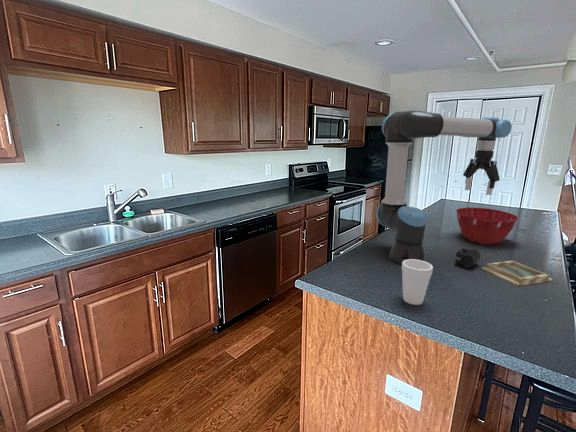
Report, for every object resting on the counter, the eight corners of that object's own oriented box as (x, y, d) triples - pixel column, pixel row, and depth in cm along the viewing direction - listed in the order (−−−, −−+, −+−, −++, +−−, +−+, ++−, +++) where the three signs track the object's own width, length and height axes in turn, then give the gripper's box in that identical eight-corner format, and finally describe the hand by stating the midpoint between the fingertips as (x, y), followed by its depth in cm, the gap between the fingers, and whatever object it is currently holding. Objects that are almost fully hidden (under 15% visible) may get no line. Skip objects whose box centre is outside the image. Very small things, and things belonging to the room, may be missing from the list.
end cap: (471, 271, 133) (474, 256, 131) (453, 266, 138) (456, 251, 136) (479, 265, 140) (481, 250, 138) (461, 260, 145) (464, 246, 143)
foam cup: (420, 293, 113) (425, 259, 110) (432, 307, 104) (438, 270, 101) (394, 293, 112) (398, 259, 109) (404, 307, 104) (408, 270, 100)
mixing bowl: (508, 254, 153) (515, 223, 150) (445, 240, 171) (450, 213, 168) (515, 240, 174) (521, 213, 170) (459, 229, 192) (463, 205, 188)
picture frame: (517, 286, 120) (518, 280, 119) (481, 269, 135) (482, 263, 134) (552, 280, 125) (553, 275, 124) (513, 265, 140) (515, 259, 139)
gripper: (514, 151, 146) (505, 196, 151) (471, 148, 169) (465, 188, 174) (500, 151, 144) (492, 197, 149) (459, 148, 167) (453, 188, 173)
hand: (477, 192), depth 162 cm, fingers open, 13 cm apart
